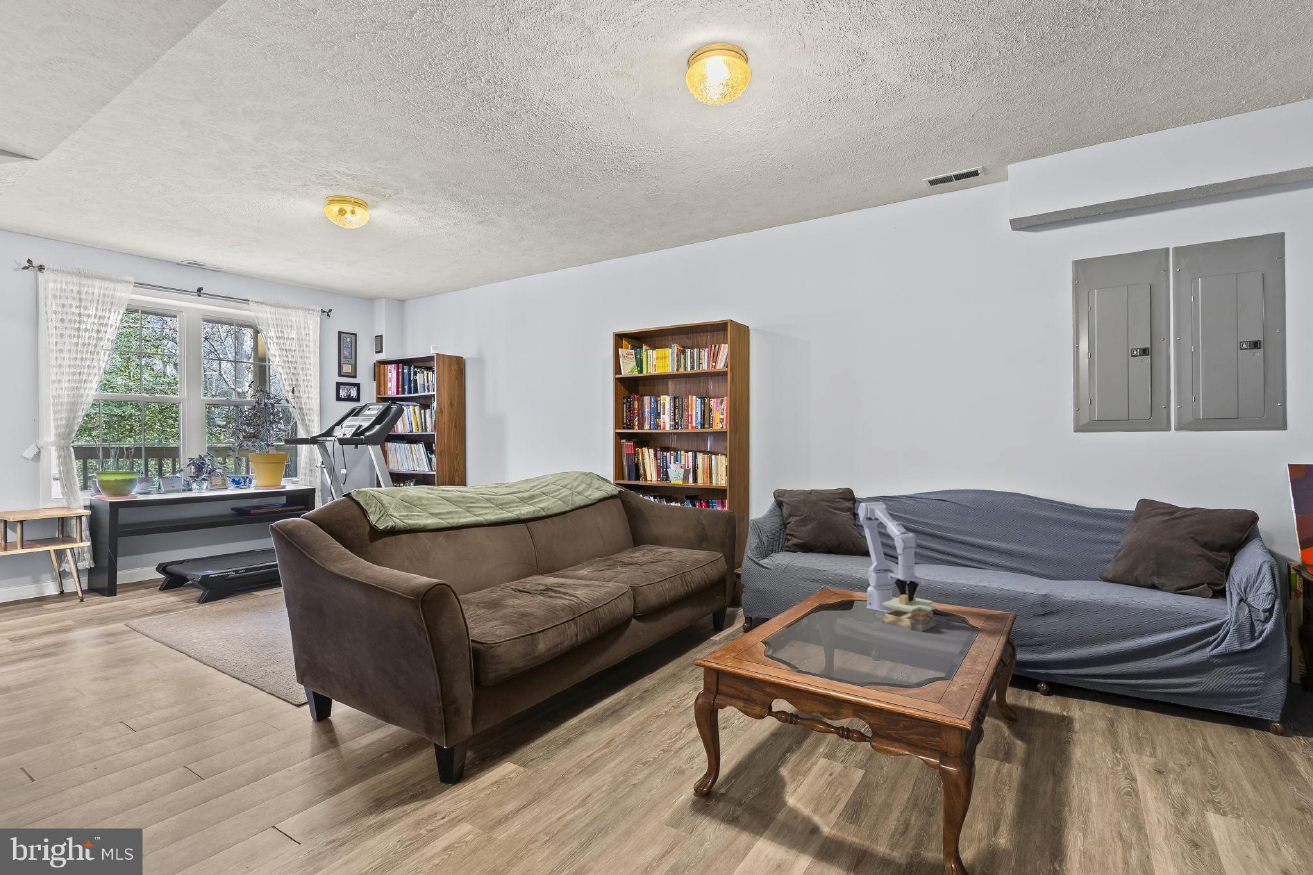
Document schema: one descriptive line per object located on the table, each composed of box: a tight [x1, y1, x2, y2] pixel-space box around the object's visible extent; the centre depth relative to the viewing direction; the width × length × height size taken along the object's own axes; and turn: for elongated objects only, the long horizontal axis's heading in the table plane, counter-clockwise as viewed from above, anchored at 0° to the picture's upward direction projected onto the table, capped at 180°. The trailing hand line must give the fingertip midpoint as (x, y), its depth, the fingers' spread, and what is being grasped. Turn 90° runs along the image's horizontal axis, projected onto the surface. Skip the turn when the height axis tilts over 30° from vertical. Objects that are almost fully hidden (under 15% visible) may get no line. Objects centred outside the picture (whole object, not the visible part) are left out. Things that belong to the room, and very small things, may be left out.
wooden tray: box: [882, 609, 938, 633], centre depth 240 cm, size 16×17×4 cm
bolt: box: [911, 610, 927, 621], centre depth 231 cm, size 4×4×2 cm
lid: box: [882, 592, 937, 613], centre depth 240 cm, size 16×16×5 cm
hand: (907, 600), depth 242 cm, fingers closed on lid, 2 cm apart
